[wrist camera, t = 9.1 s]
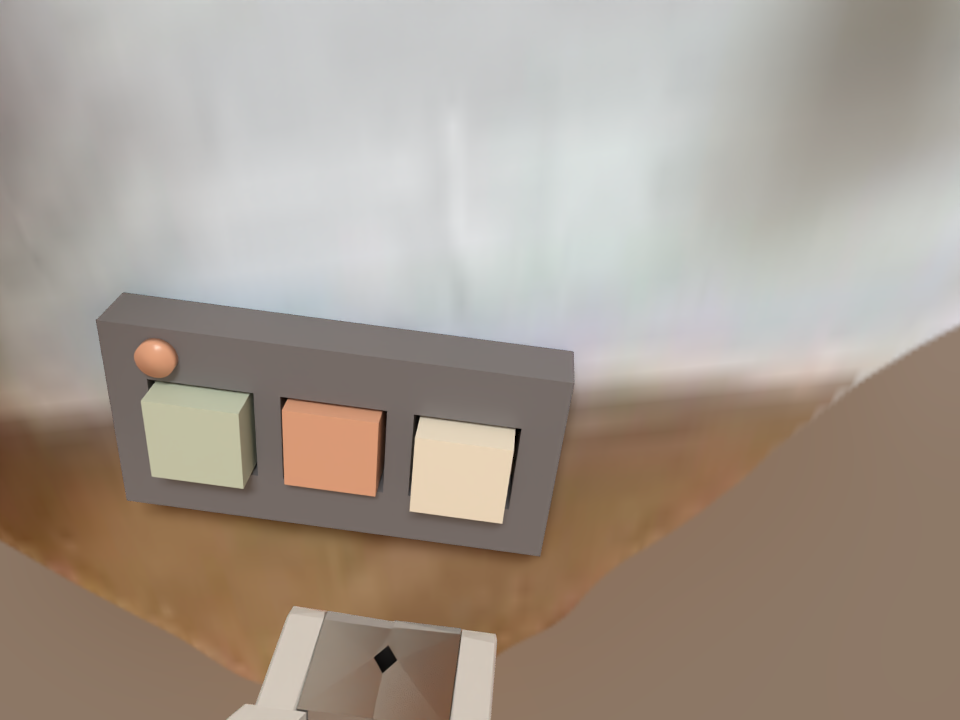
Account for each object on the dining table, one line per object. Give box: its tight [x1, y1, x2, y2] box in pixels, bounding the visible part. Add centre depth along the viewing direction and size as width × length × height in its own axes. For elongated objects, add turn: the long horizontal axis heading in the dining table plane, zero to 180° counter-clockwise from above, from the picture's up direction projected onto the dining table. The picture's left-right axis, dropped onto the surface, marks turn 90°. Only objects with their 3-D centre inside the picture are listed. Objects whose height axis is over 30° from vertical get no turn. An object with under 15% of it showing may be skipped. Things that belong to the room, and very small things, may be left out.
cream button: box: [410, 416, 516, 524], centre depth 44 cm, size 5×5×3 cm
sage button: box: [141, 380, 257, 489], centre depth 44 cm, size 5×5×3 cm
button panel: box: [96, 293, 574, 556], centre depth 45 cm, size 24×12×4 cm, turn 84°
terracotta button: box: [282, 398, 387, 497], centre depth 44 cm, size 5×5×3 cm
